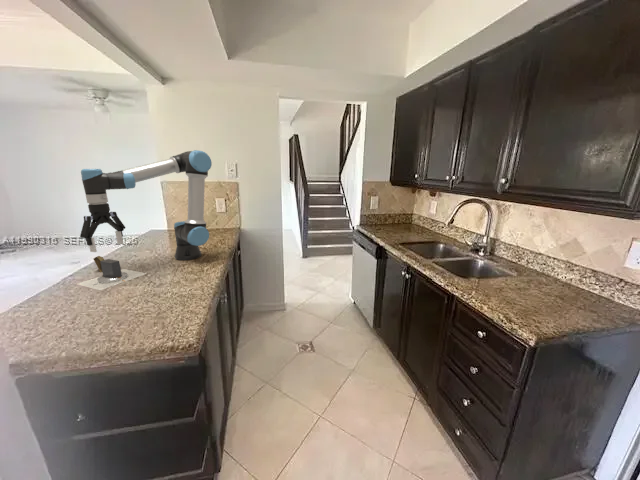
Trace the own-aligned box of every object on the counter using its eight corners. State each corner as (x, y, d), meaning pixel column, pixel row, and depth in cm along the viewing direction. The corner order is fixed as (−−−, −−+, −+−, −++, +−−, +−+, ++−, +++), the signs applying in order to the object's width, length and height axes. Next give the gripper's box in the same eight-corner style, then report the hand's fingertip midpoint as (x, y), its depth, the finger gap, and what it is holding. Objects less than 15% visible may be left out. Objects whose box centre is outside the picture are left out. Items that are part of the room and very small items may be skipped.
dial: (91, 281, 130) (87, 263, 128) (117, 272, 141) (114, 256, 139) (108, 284, 126) (104, 266, 124) (133, 275, 137) (130, 258, 134)
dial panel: (124, 271, 147) (123, 268, 146) (147, 276, 140) (146, 273, 140) (76, 287, 127) (75, 283, 127) (100, 293, 121) (100, 290, 120)
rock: (95, 265, 149) (84, 269, 140) (105, 252, 150) (94, 255, 140) (114, 275, 152) (105, 280, 142) (124, 263, 152) (115, 266, 143)
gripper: (76, 207, 112) (87, 256, 117) (128, 200, 135) (136, 241, 141) (61, 206, 113) (73, 255, 119) (116, 200, 137) (124, 240, 142)
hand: (107, 247), depth 130 cm, fingers open, 13 cm apart
